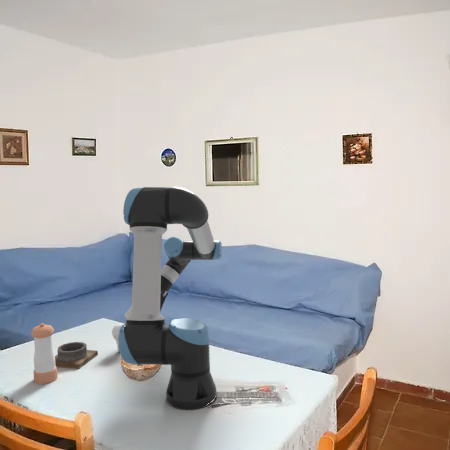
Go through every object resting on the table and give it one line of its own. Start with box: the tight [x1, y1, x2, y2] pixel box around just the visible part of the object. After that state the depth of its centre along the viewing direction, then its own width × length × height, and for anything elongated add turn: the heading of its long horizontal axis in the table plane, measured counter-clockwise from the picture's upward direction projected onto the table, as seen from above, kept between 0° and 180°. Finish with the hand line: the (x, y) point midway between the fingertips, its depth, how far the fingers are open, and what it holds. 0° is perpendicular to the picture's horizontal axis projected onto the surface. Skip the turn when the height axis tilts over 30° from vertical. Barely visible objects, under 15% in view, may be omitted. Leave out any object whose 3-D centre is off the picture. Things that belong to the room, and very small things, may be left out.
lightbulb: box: [111, 323, 125, 352], centre depth 174 cm, size 6×6×11 cm
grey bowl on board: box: [55, 341, 99, 370], centre depth 167 cm, size 13×13×5 cm
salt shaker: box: [30, 323, 58, 385], centre depth 151 cm, size 7×7×19 cm
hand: (133, 322), depth 177 cm, fingers open, 13 cm apart
